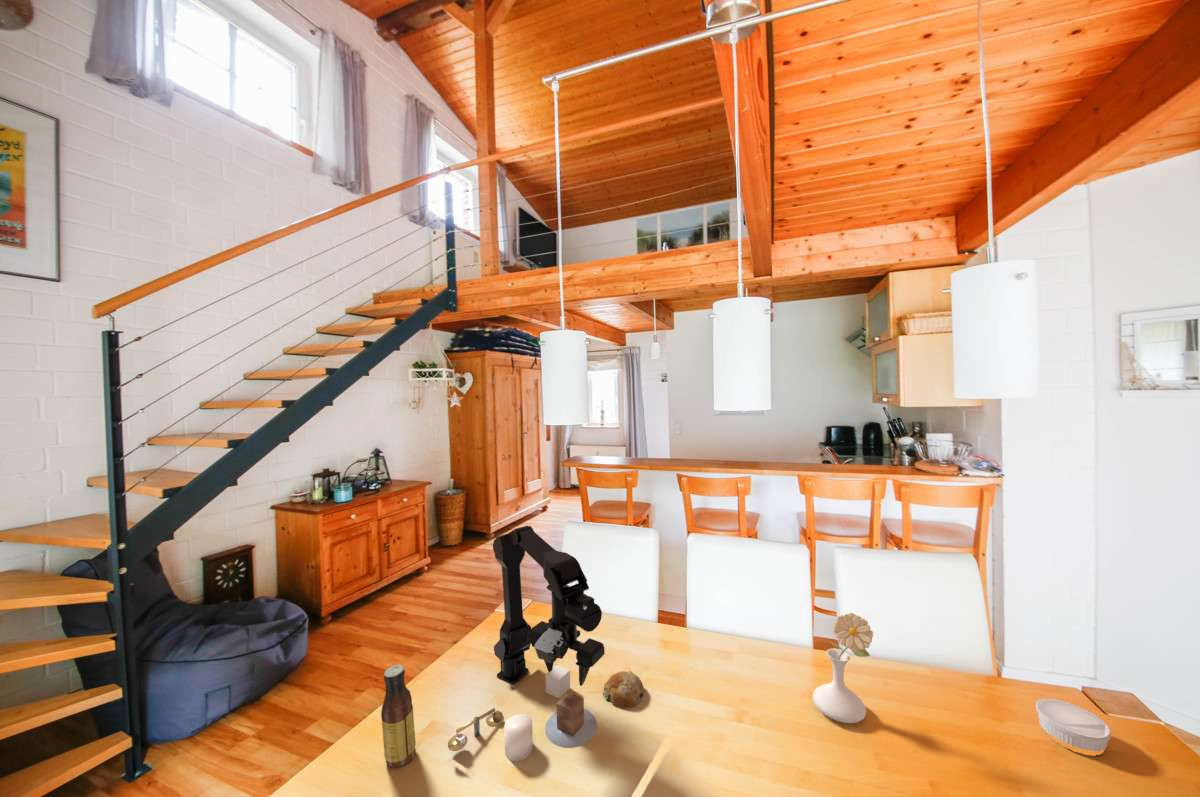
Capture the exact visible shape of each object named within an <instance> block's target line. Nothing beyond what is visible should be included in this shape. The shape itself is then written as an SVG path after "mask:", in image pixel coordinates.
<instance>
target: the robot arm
mask: <svg viewBox="0 0 1200 797" xmlns="http://www.w3.org/2000/svg"><path fill="white" fill-rule="evenodd" d="M492 550H493V553H494V558H495V560H496V561H497V563H498V564H500V567H501V575H502V590H503V591H502V592H503V606H504V607H503V608H504V620H503V622H502V625H501V627H500V629H499V640H498V641H497V642H496V643H495V644H494V646H493V651H494V655H495V657H496V658H498V660H499V661H500V671H499V672H498V673H497V674H496V677H497V678H499V679H501V680H504V681H506V682H507V683H510V684H512V685H513V684H516V683H517V682H518V681H519V680H520V679H521V678H523V677H524V676H525V675H526V674H527V673H529V670H530V669H529V668H528V667H526V666H527V665H526V659H525V652H526V651H529V650H530V649H531V648H530V647H531V646H532V647H533V648H534V649H535V652H536V655H537V659H539V660H543V661H544V663H545V667H546V669H547V670H546V671H547V673H548V672H551V671H552V669H553V667H554V663H556V661H557V659H560V660H563V658H565V655H566V654H567V652H568V650H569V649H570V650H573V651H575V652H576V653H575V654H576V655H575V658H576V662H575V665H576V666H577V667H578V683H579V686H580V687H582V686H583V685H584V684H585V681H586V679H587V676H588V674H589V671H590V669H591V668H592V667H594V666H595V665H596V664H597V663H598V662H599V660H600V659H602V657H604V655H605V644H604V643H603V642H601V641H598V640H595V639H593V638H588V639H587V640H585V641H584V642H582V641H579V640H578V638H579V637H580V636H581V631H580V630H579V629H578V628H580V629H581V630H583V631H585V632H588V633H589V632H593V631H595V629H596V628H597V627H599V625H600V623H601V620H602V617H603V616H602V614H603V611H602V609H601V606H599V605H598V604H597V603H595V598H594V597H592V596H590V595H587V594H586V593H585V591H588V590H589V589H590V587H589V585H588V579H587V577H586V575H585V574H584V571H583V569H582V567H581V564H580V563H579V561H578V560H577V559H576V557H574V556H573V555H571V554H569V553H567V552H563V551H559V550H558V551H557V550H556V549H555V548H554V547H552V546H551V545H550V544H549V543H548V542H547V541H545V540H544V539H543V538H542V537H541V536H540V535H538V534H537V533H536V532H535V531H534V528H533V527H532V525H524V526H521V527H516V528H514V529H513V530H511V531H510V532H508V533H505V534H501V535H497V536H496V537H495V539H494V540H493V543H492ZM526 553H527V555H529V556H530V557H531V558H532V559H533V560H534V561H535V562H536V563H537V564H538V565H539V567H541V568H542V570H543V571H542V572H543V577H544V579H545V580H546V582H547V583H548V585H546V589H547V591H549V592H551V618H549V619H548V622H545V621H543V620H541V621H539V622H538V623H537V624H536V625H534V626H533V627H531V625H530V624H529V623H528V622H527V621H526V619H525V618H524V612H523V611H524V610H523V595H522V578H521V577H522V576H521V564H522V562H523V559H524V557H525V555H526ZM575 582H577V583H575ZM572 583H575V584H572ZM570 584H572V585H570Z"/></svg>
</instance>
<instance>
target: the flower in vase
mask: <svg viewBox="0 0 1200 797" xmlns="http://www.w3.org/2000/svg"><path fill="white" fill-rule="evenodd" d="M834 622H835V623H833V625H834V626H833V629H832V632H833V633H834V636H835V638H837V642H838V643H839V644H840V645H841V646H844V649H843V648H841V646H839V645H838V644H836V643H835V642H832V641H831V640H829V639H828V638H826V640H827V641H828V642H829V643H830V644H831V645H833V646H834V647H835V648H829V649H827V650H826V655H827V657H828V658H829V660H830V662H831V665H832V674H833V675H832V681H831V682H829V683H824V684H821V685H819V686H818V687H816V688H815V689H814V691H813V693H812V696H811V698H812V701H813V703H814V705H815V707H816V708H817V709H818V710H819V711H820V712H821V713H822V714H823V715H825V716H826V717H828V718H830V719H831V720H835V721H837V722H841V723H844V724H856V723H860V722H862V720H864V718H865V717H867V716H866V715H867V708H866V707H865V703H864V702H863V700H862V699H861V698H859V696H858V695H857V694H856V693H855V692H854V691H852V690H851V689H849V688H848V687H847V686H846V684H845V676H844V675H845V667H846V664H847V663H848V662H849V661H850V660H851V656H850V655H849V653H848V652H846V651H847V649H849V650H850V651H851V652H852V653H853V654H854V656H857V657H861V658H863V657H864V658H865V657H870V656H871V654H870V653H869V652H868V651H867V649H869V648H870V646H871V644H872V641H873V638H874V631H873V630H871V626H870V625H869V622H868V620H866V619H865V618H864V617H862V616H860V615H858V614H857V615H856V614H855V613H853V612H849V613H843V614H841V615H838V616H837V618H836V621H834Z"/></svg>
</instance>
